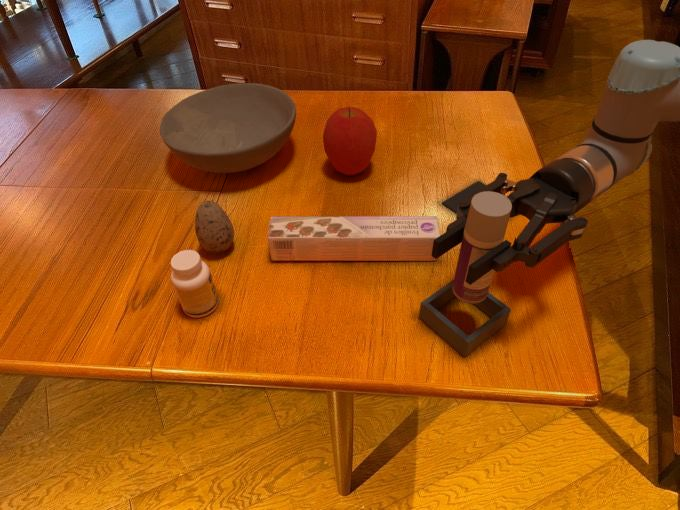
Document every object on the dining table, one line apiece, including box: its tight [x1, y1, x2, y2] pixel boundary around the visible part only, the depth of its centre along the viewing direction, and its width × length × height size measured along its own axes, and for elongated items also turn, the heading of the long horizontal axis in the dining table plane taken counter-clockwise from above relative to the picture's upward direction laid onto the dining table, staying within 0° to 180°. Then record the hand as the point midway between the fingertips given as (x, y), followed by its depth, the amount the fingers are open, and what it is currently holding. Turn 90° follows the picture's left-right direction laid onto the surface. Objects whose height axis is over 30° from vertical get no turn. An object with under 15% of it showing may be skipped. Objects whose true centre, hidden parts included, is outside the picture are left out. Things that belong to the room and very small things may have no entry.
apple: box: [322, 105, 378, 176], centre depth 92 cm, size 10×10×14 cm
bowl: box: [159, 82, 297, 174], centre depth 97 cm, size 26×26×10 cm
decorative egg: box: [194, 200, 235, 254], centre depth 78 cm, size 6×6×10 cm
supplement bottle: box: [170, 249, 219, 318], centre depth 70 cm, size 5×5×10 cm
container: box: [452, 191, 512, 304], centre depth 60 cm, size 5×5×15 cm
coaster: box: [441, 180, 487, 215], centre depth 88 cm, size 10×10×1 cm
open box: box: [418, 279, 512, 358], centre depth 69 cm, size 9×9×4 cm
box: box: [267, 215, 442, 262], centre depth 79 cm, size 27×5×6 cm, turn 89°
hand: (452, 262), depth 56 cm, fingers closed on container, 5 cm apart
